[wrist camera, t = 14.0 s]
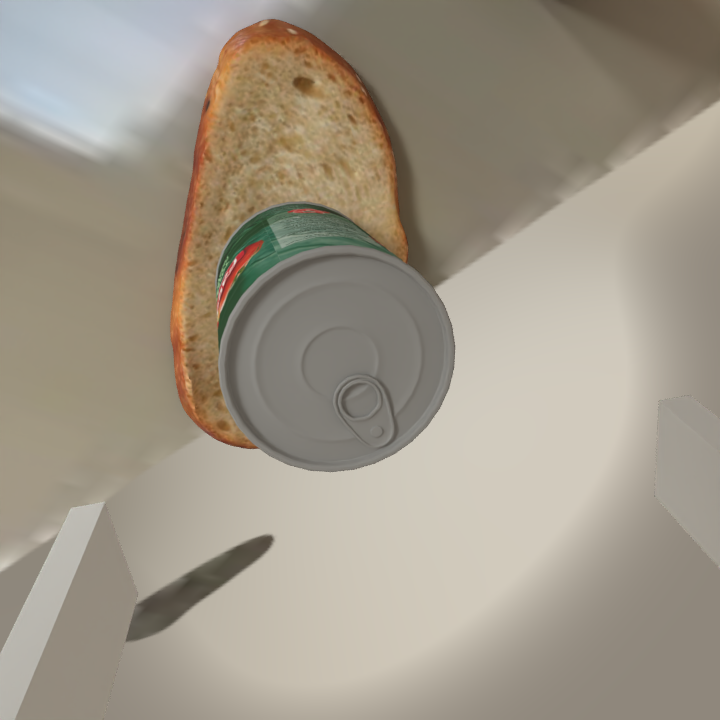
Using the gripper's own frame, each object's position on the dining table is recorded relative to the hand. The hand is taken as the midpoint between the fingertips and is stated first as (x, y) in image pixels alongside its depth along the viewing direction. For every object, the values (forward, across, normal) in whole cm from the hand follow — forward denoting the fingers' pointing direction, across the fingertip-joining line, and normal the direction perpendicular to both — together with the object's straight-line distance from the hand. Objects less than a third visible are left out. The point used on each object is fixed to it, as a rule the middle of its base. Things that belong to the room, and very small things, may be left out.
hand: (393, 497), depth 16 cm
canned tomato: (+18, -2, 0) cm, 18 cm away
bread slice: (+21, -3, +1) cm, 21 cm away
